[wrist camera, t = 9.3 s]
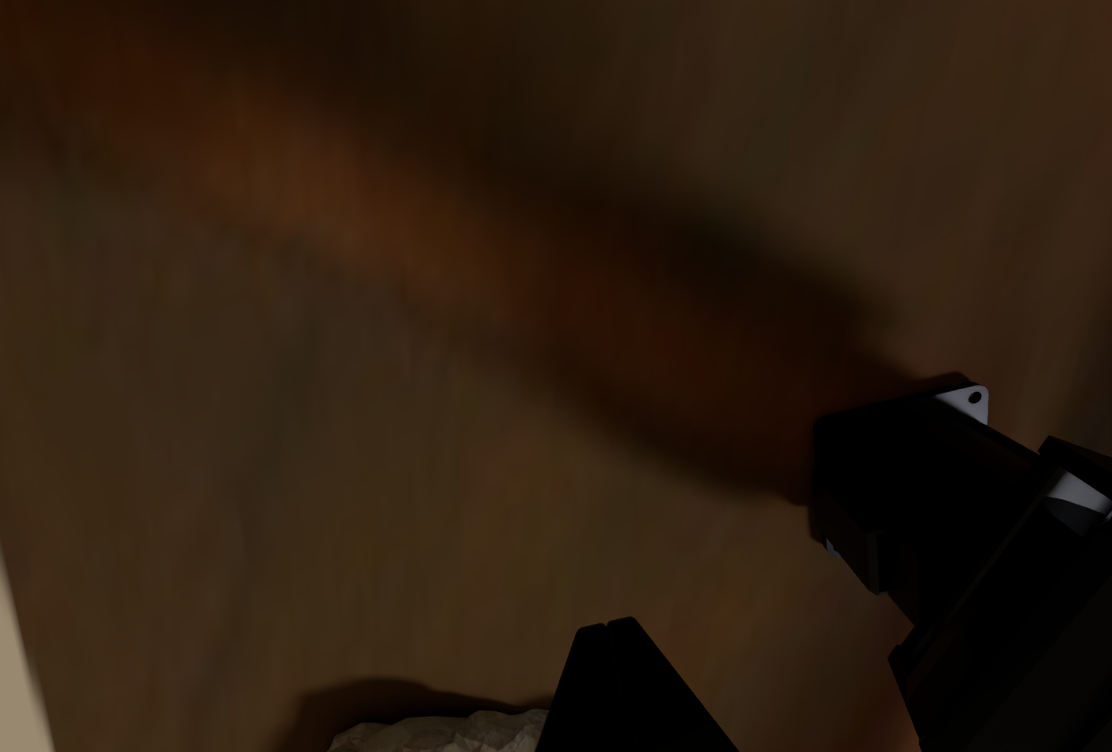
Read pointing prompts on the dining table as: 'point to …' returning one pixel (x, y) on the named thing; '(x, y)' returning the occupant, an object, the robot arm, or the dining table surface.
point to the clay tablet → (447, 734)
